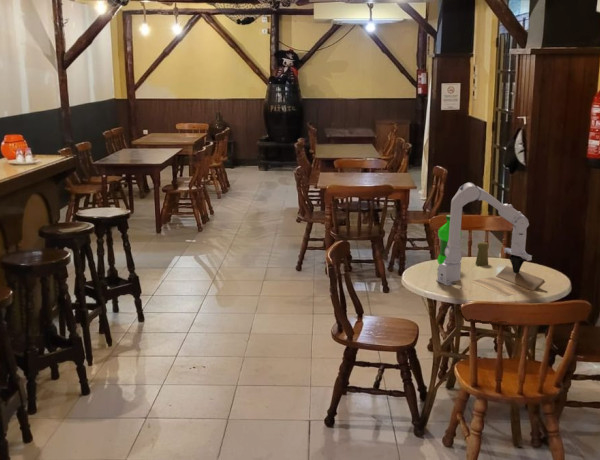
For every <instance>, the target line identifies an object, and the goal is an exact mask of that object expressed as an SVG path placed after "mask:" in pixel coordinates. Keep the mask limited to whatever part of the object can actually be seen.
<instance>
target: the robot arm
mask: <svg viewBox="0 0 600 460" xmlns="http://www.w3.org/2000/svg"><path fill="white" fill-rule="evenodd" d="M476 200H478V201H484V202H486V203H487V204H488V205H490V206H491V207H493V208H495V209H496V210H497V211H498V215H499V216H500V217H502V218H503V219H505V220H506V221H508V222H509V223H510V224H512V225H513V226H512V233H511V234H512V235H511V245H510V246H511V247H510V248H509V247H505V248H504V249H503V252H504V254H509V256H508V259H509V261H510V263H511V268H513V272H514V273H519V271H521V268H522V267H523V266H522V265H523V264H524V262H525V261H532V259H533V258H532V257H533V255H531V254H528V253H527V252H526V242H527V241H526V240H527V228H528V227H529V226H530V223H529V219H528V218H527V217H526V216H525V215H524V214H523V213H522V212H521V211H518V210H517V209H515V208H514V206H513V205H512V204H511V203H510V204H508V203H501V201H500V200H498V199H497V198H495V196H493V195H491V194H490V193H489V192H487V191H486V190H485V189H483V188H481V187H479V186H478V185H475V184H474V183H473V182H466V183H464V184H462V185H461V186H459V188H458V190H457V192H456V193H455V195H454V196H453V197H452V199H451V202H450V212H449V213H450V214H449V215H450V227H449V240H448V242H447V247H446V249H445V255H446V257H447V258H446V259H445V260H444V263H442V264H439V265H438V266H437V279H436V280H435V281H437V282H438V283H441V284H443V285H445V286H451V285H457V283H455V282H458V281H460V280H461V271H462V259H463V256H462V255H463V254H462V253H461V238H460V233H461V234H462V217H463V207H464V206H465V205H468V203H472V202H474V201H476Z"/></svg>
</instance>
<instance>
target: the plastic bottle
mask: <svg viewBox="0 0 600 460" xmlns="http://www.w3.org/2000/svg"><path fill="white" fill-rule="evenodd" d="M445 220H446V223H445V224H443V225H442V226H440V227H439V228H438V230H437V235H438V238H439V239H440V241H439V242H440V244H439V245H440V246H439V255H438V256H437V263H438V264H439V265H440V264H442V263H444V260H445V259H446V258H447V257H446V255H445V249H446V247H447V242H448V240H449V227H450V214H446V215H445ZM461 237H462V232H461V233H460V239H461Z"/></svg>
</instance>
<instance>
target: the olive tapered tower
mask: <svg viewBox="0 0 600 460" xmlns="http://www.w3.org/2000/svg"><path fill="white" fill-rule="evenodd" d="M477 248H478V250H477V256H476V258H475V259H476V260H475V265H476V266H477V267H485V266H489V255H488V254H489V252H488V251H489V250H488V249H489V248H490V244H489V243H488V242H485V241H480V242H478V243H477Z"/></svg>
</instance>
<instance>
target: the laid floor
mask: <svg viewBox="0 0 600 460" xmlns="http://www.w3.org/2000/svg"><path fill="white" fill-rule="evenodd" d="M470 282H471V283H474V284H476V285H478V286H480V287H483V288H486V289H488V290H490V291H493V292H495V293H496V294H499V295H502V296H503V297H509V296H515V295H518V294H524V293H525V294H526V293H529V292H531V290H529V289H527V288H524V287H522V286H519V285H517V284H514V283H512V282H509V281H507V280H504V279H502V278H499V277H497V276H490V277H489V276H488V277H484V278H477V279H473V280H472V279H471V280H470Z"/></svg>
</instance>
